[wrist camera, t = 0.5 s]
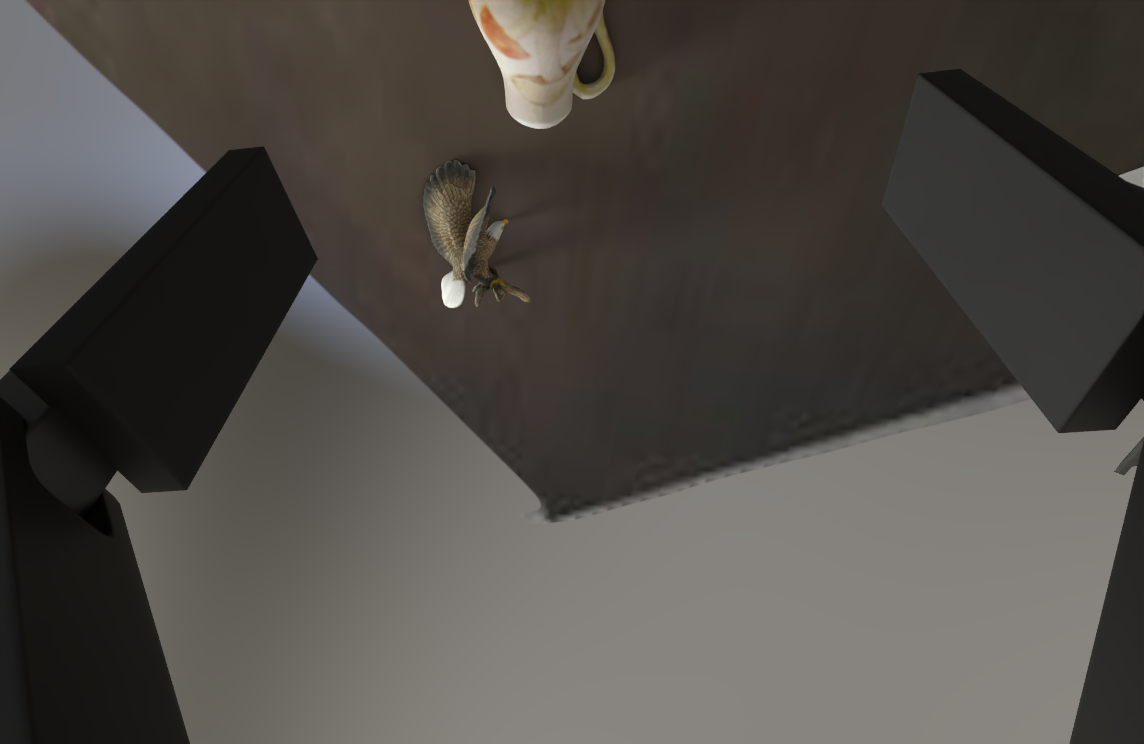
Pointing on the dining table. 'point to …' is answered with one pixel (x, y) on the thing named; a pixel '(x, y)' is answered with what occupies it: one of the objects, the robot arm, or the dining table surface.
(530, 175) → the dining table surface
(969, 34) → the dining table surface
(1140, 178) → the milk
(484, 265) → the eagle figurine
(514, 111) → the mug
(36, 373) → the robot arm
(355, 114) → the dining table surface
